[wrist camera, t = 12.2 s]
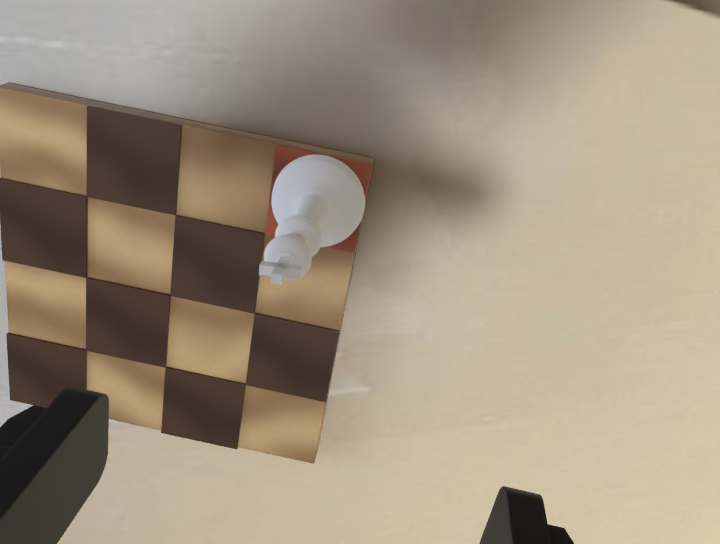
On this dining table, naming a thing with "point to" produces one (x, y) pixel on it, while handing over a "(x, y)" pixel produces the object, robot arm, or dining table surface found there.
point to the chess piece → (310, 214)
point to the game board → (163, 273)
